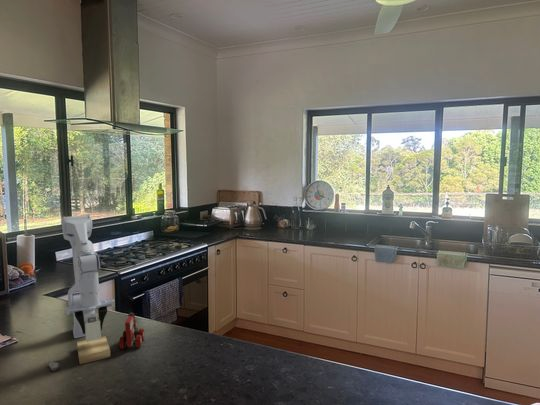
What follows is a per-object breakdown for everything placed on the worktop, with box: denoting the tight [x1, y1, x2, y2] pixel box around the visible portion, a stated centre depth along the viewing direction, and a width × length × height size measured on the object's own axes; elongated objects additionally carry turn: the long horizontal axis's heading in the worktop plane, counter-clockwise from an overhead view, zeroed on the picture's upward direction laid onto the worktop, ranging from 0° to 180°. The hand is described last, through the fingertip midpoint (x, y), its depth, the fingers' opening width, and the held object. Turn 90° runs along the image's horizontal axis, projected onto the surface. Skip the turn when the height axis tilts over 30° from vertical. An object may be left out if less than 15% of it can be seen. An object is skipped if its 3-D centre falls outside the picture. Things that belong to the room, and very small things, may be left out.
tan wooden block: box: [76, 335, 111, 365], centre depth 128 cm, size 12×9×2 cm
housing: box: [84, 312, 102, 342], centre depth 127 cm, size 8×4×7 cm, turn 30°
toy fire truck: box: [118, 312, 145, 350], centre depth 134 cm, size 7×12×10 cm, turn 10°
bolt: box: [46, 360, 61, 372], centre depth 119 cm, size 5×2×2 cm, turn 50°
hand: (92, 331), depth 128 cm, fingers closed on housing, 4 cm apart
